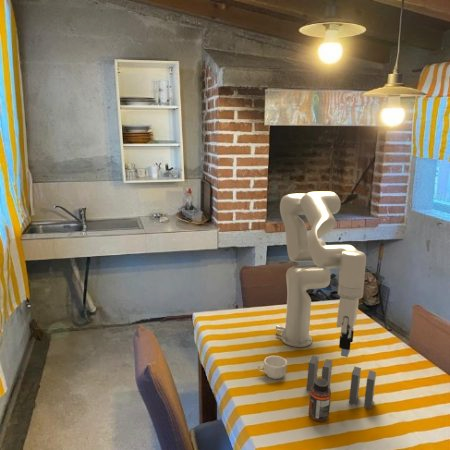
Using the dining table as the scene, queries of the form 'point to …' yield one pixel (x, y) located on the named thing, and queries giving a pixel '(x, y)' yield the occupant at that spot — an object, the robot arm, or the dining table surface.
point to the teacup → (274, 366)
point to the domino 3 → (344, 351)
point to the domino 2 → (327, 371)
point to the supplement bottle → (319, 400)
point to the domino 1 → (312, 371)
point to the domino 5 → (369, 389)
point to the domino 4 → (354, 385)
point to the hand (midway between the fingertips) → (346, 344)
